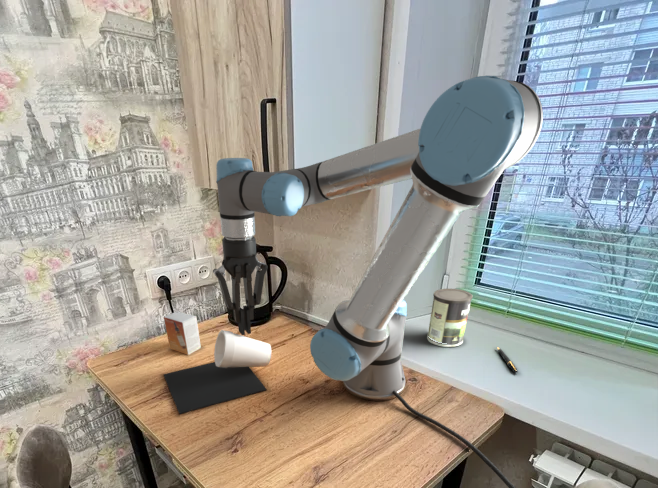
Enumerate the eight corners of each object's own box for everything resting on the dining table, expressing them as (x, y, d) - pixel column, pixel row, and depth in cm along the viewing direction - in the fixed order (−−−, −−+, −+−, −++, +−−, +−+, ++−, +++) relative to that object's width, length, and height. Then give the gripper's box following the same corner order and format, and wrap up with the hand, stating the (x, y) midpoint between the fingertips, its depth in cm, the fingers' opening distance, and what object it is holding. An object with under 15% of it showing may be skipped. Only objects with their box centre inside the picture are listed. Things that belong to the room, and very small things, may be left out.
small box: (169, 349, 125) (162, 316, 119) (183, 342, 129) (177, 310, 123) (188, 355, 121) (182, 322, 115) (201, 348, 125) (196, 315, 119)
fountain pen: (494, 349, 118) (496, 344, 117) (499, 349, 117) (500, 344, 117) (514, 375, 105) (515, 370, 105) (518, 375, 105) (520, 370, 105)
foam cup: (275, 361, 105) (226, 355, 99) (261, 378, 112) (215, 373, 106) (271, 330, 109) (224, 322, 103) (258, 348, 116) (213, 342, 110)
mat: (266, 390, 103) (266, 389, 103) (179, 414, 96) (179, 413, 96) (240, 357, 119) (240, 355, 119) (163, 375, 112) (163, 374, 111)
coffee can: (466, 336, 125) (476, 291, 117) (457, 350, 118) (467, 303, 110) (432, 329, 130) (439, 286, 122) (422, 342, 123) (429, 296, 115)
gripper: (261, 230, 98) (264, 321, 111) (203, 236, 93) (214, 331, 106) (273, 237, 92) (275, 332, 105) (213, 243, 87) (222, 343, 100)
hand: (244, 332), depth 105 cm, fingers closed
